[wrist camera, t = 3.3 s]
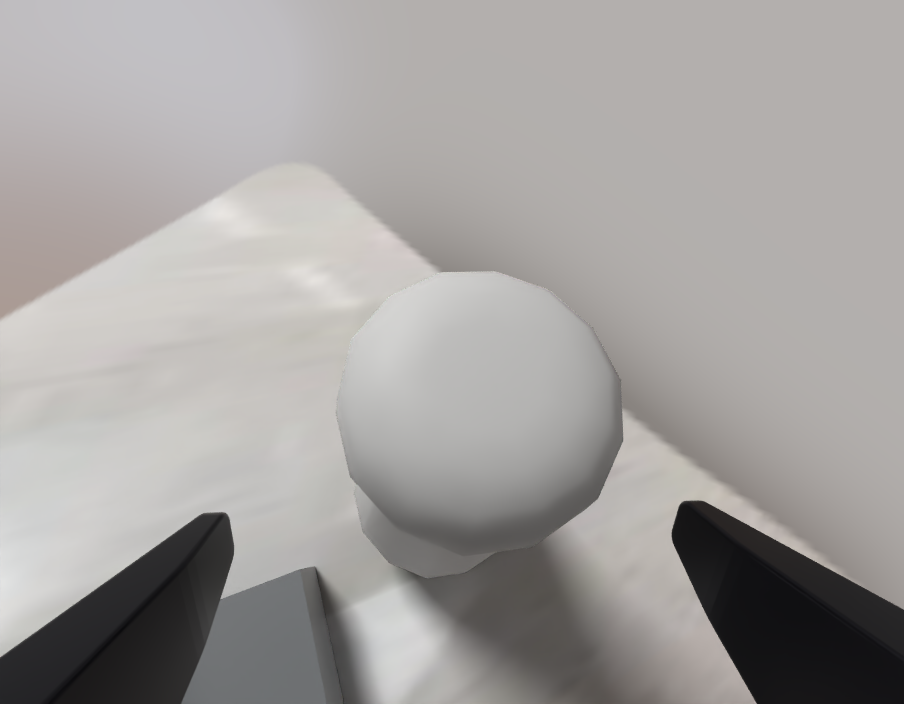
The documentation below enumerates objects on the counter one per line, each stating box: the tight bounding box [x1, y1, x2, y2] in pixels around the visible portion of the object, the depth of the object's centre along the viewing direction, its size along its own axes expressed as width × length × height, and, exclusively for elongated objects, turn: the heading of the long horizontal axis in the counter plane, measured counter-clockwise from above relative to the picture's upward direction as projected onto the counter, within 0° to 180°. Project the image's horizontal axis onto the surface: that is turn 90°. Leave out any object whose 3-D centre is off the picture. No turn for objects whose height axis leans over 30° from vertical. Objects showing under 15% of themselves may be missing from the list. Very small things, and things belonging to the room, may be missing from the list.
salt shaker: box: [336, 271, 623, 578], centre depth 11 cm, size 6×6×13 cm
